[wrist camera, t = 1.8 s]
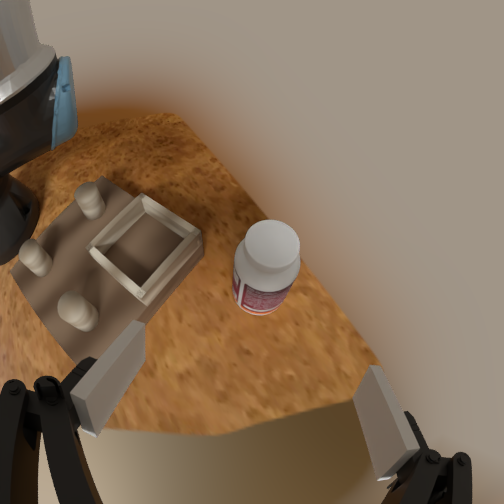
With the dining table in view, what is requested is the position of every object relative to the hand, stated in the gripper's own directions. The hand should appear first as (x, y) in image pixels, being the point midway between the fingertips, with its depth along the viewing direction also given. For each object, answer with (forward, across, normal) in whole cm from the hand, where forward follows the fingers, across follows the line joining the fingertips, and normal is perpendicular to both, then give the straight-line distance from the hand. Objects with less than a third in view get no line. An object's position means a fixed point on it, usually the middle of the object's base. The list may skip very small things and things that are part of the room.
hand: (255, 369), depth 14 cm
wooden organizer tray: (+16, -20, -4) cm, 27 cm away
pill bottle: (+18, 0, -3) cm, 18 cm away
